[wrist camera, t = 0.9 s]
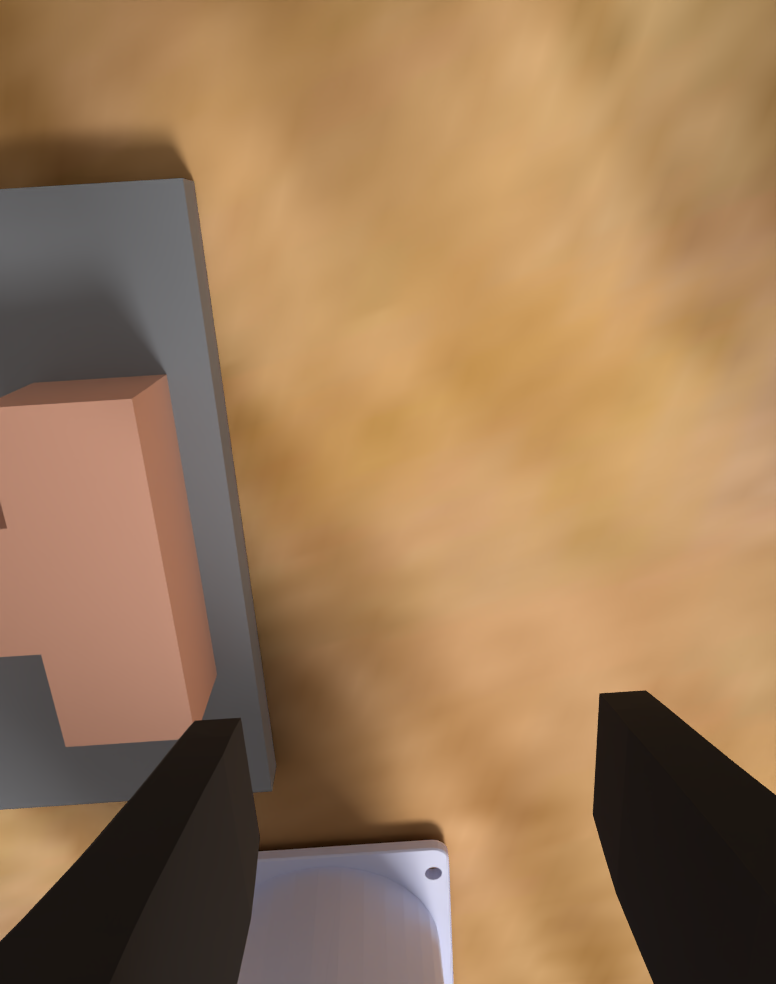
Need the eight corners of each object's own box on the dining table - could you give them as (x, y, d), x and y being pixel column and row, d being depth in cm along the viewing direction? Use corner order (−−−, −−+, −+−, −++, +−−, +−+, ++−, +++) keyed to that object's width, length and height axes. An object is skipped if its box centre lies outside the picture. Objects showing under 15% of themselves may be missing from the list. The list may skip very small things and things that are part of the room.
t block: (216, 674, 19) (195, 738, 16) (-86, 695, 19) (-152, 761, 16) (166, 374, 16) (131, 399, 13) (-190, 396, 16) (-287, 425, 13)
